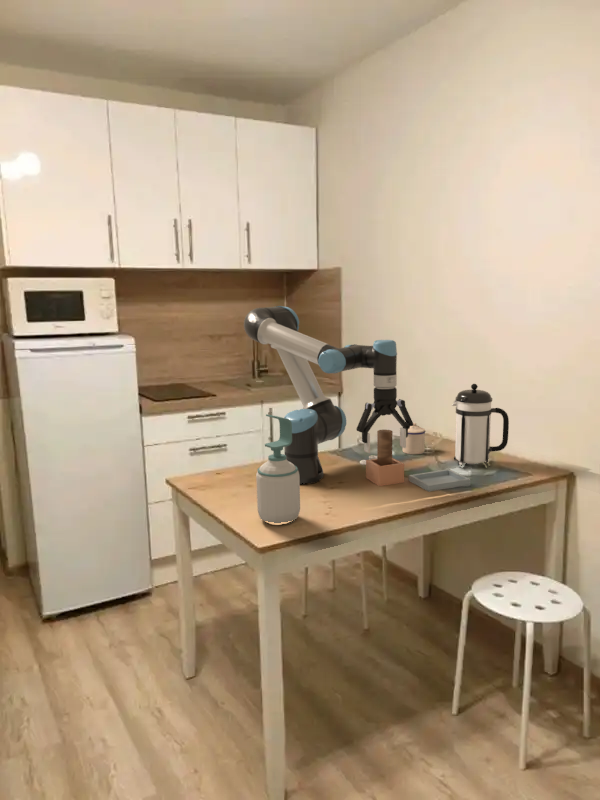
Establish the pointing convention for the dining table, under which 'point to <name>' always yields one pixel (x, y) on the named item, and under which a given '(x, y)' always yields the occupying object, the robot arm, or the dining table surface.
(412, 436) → the teacup with lid
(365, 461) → the teacup and saucer
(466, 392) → the coffee press
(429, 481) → the slate tray
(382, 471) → the terracotta square box
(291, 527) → the dining table surface
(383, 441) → the walnut dowel
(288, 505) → the soap bottle
